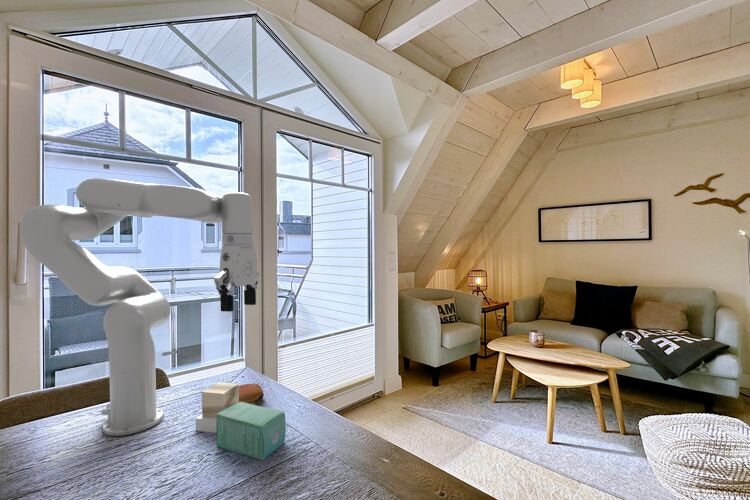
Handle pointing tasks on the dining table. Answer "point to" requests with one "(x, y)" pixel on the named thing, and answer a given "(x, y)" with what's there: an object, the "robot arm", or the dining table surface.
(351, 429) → the dining table surface
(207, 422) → the white slab
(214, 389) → the maple block
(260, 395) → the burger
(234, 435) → the box
